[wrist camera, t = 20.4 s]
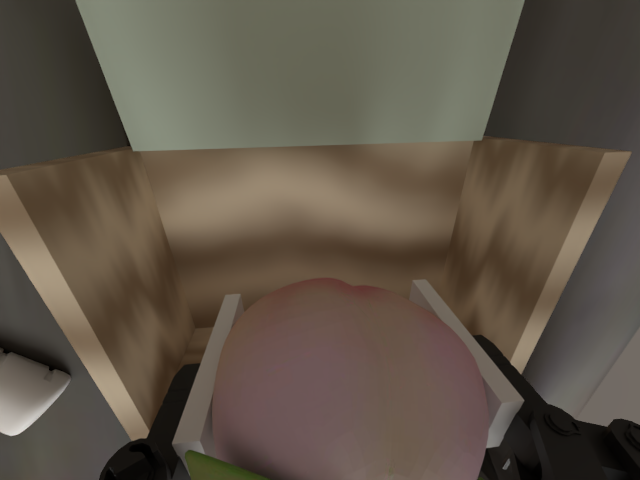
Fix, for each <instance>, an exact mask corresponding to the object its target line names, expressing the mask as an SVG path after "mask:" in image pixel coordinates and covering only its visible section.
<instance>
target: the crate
mask: <svg viewBox="0 0 640 480" xmlns="http://www.w3.org/2000/svg"><path fill="white" fill-rule="evenodd" d="M631 153H632V152H631V151H622V150H612V149H603V148H593V147H584V146H574V145H565V144H555V143H546V142H536V141H527V140H517V139H508V138H498V137H489V136H483V138H482V140H479V141H448V142H416V143H384V144H352V145H321V146H289V147H257V148H225V149H194V150H162V151H133V150H132V147H131V146H126V147H121V148H115V149H110V150H104V151H99V152H94V153H88V154H83V155H78V156H72V157H67V158H62V159H56V160H51V161H45V162H40V163H35V164H29V165H24V166H19V167H13V168H8V169H2V170H0V232H1V234H2V235H3V237H4V239H5V240H6V242H7V243H8V245H9V246H10V248H11V250H12V251H13V253H14V254H15V256H16V258H17V259H18V261H19V262H20V264H21V265H22V267H23V269H24V270H25V272H26V273H27V275H28V277H29V278H30V280H31V281H32V283H33V285H34V286H35V288H36V289H37V291H38V292H39V294H40V296H41V297H42V299H43V300H44V302H45V304H46V305H47V307H48V308H49V310H50V311H51V313H52V315H53V316H54V318H55V319H56V321H57V323H58V324H59V326H60V327H61V329H62V331H63V332H64V334H65V335H66V337H67V338H68V340H69V342H70V343H71V345H72V346H73V348H74V350H75V351H76V353H77V354H78V356H79V357H80V359H81V361H82V362H83V364H84V365H85V367H86V369H87V370H88V372H89V373H90V375H91V377H92V378H93V380H94V381H95V383H96V384H97V386H98V388H99V389H100V391H101V392H102V394H103V396H104V397H105V399H106V400H107V402H108V403H109V405H110V407H111V408H112V410H113V411H114V413H115V415H116V416H117V418H118V419H119V421H120V423H121V424H122V426H123V427H124V429H125V430H126V432H127V434H128V435H129V437H130V438H131V440H132V441H134V440H137V439H140V438H147V436H148V434H149V431H150V429H151V427H152V425H153V422H154V420H155V418H156V416H157V413H158V411H159V409H160V407H161V405H162V404H163V400H164V398H165V395H166V393H168V389H169V386H170V384H171V382H172V380H173V377H174V376H175V375H176V374H177V372H178V371H179V370H180V369H181V368H182V367H183V365H186V364H196V363H201V361H202V359H203V356H204V353H205V350H206V347H207V345H208V342H209V339H210V336H211V334H212V331H213V328H214V325H215V322H216V320H217V317H218V314H219V311H220V309H221V306H222V303H223V300H224V297H225V295H231V294H241V298H242V303H243V308H244V312H245V311H246V310H247V309H248V308H249V307H250V306H251V305H253V304H254V303H255V302H257V301H258V300H259V299H261V298H262V297H264V296H266V295H267V294H269V293H271V292H273V291H275V290H277V289H279V288H282V287H284V286H287V285H290V284H293V283H297V282H300V281H304V280H309V279H315V278H334V279H338V280H342V281H344V282H345V283H347V284H349V285H352V286H359V285H367V286H373V287H379V288H383V289H386V290H389V291H392V292H394V293H396V294H398V295H400V296H402V297H404V298H406V299H408V300H409V297H410V292H411V286H412V280H422V279H426V280H427V281H428V282H429V284H430V285H431V286H432V287H433V289H434V290H435V291H436V292H437V293H438V295H439V296H440V297H441V298H442V300H443V301H444V302H445V303H446V305H447V306H448V307H449V308H450V309H451V311H452V312H453V313H454V314H455V316H456V317H457V318H458V319H459V321H460V322H461V323H462V324H463V325H464V327H465V328H466V329H467V330H468V332H469V333H470V334H471V335H483V336H484V337H485V338H487V339H488V340H490V341H491V342H492V343H494V344H495V345H496V347H497V348H498V349H499V350H500V351H501V352H502V353H503V356H505V357H506V358H507V359H508V360H509V361H510V362H511V365H513V366H514V367H515V368H516V369H517V370H518V372H519V373H520V374H522V372H523V370H524V368H525V366H526V364H527V362H528V360H529V358H530V356H531V354H532V352H533V350H534V348H535V346H536V344H537V342H538V340H539V338H540V336H541V334H542V332H543V330H544V328H545V326H546V324H547V322H548V320H549V318H550V316H551V314H552V312H553V310H554V308H555V306H556V304H557V302H558V300H559V298H560V296H561V294H562V292H563V290H564V288H565V286H566V284H567V282H568V280H569V278H570V276H571V274H572V272H573V270H574V268H575V266H576V264H577V261H578V259H579V257H580V255H581V253H582V251H583V249H584V247H585V245H586V243H587V241H588V239H589V237H590V235H591V233H592V231H593V229H594V227H595V225H596V223H597V221H598V219H599V217H600V215H601V213H602V211H603V209H604V207H605V205H606V203H607V201H608V199H609V197H610V195H611V193H612V191H613V189H614V187H615V185H616V183H617V181H618V179H619V177H620V175H621V173H622V171H623V169H624V167H625V165H626V163H627V161H628V159H629V157H630V155H631Z"/></svg>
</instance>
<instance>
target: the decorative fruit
mask: <svg viewBox="0 0 640 480" xmlns="http://www.w3.org/2000/svg"><path fill="white" fill-rule="evenodd" d="M212 426H213V437H214V445H215V452H216V456H217V459H216V458H214V457H211V456H208V455H205V454H202V453H199V452H196V451H194V450H188V451H187V452H186V453H185V460H186V463H187V466H188V470H189V474H190V477H191V480H484V479H483V478H482V477H479V478H478V476H479V472H480V469H481V466H482V463H483V459H484V455H485V450H486V446H487V441H488V433H489V411H488V404H487V398H486V393H485V389H484V385H483V381H482V377H481V373H480V370H479V368H478V366H477V363H476V361H475V358H474V357H473V355H472V353H471V352H470V350H469V349H468V347H467V346H466V344H465V343H464V342H463V341H462V339H461V338H460V337H459V336H458V335H457V334H456V333H455V332H454V331H453V330H452V329H451V328H450V327H449V326H448V325H447V324H445V323H444V322H443V321H442V320H440V319H439V318H438V317H436V316H435V315H434V314H432V313H431V312H429V311H428V310H426V309H424V308H422V307H421V306H419V305H417V304H415V303H413V302H412V301H410V300H408V299H406V298H404V297H402V296H400V295H398V294H396V293H394V292H392V291H389V290H386V289H383V288H379V287H373V286H367V285H359V286H352V285H349V284H347V283H345V282H344V281H342V280H338V279H334V278H315V279H309V280H304V281H300V282H297V283H293V284H290V285H287V286H284V287H282V288H279V289H277V290H275V291H273V292H271V293H269V294H267V295H266V296H264V297H262V298H261V299H259V300H258V301H257V302H255V303H254V304H253V305H251V306H250V307H249V308H248V309H247V310H246V311H245V312H244V313H243V314H242V315H241V317H240V318H239V319H238V320H237V321H236V323H235V324H234V326H233V327H232V329H231V330H230V332H229V334H228V336H227V338H226V340H225V343H224V345H223V348H222V350H221V355H220V359H219V363H218V368H217V372H216V378H215V384H214V392H213V403H212Z"/></svg>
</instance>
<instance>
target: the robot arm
mask: <svg viewBox="0 0 640 480" xmlns="http://www.w3.org/2000/svg"><path fill="white" fill-rule="evenodd" d="M409 300H410V301H412V302H413V303H415V304H417V305H419V306H421V307H422V308H424V309H426V310H428V311H429V312H431V313H432V314H434V315H435V316H436V317H438V318H439V319H440V320H442V321H443V322H444V323H445V324H447V325H448V326H449V327H450V328H451V329H452V330H453V331H454V332H455V333H456V334H457V335H458V336H459V337H460V338H461V339H462V341H463V342H464V343H465V344H466V346H467V347H468V349H469V350H470V352H471V353H472V355H473V357H474V358H475V361H476V363H477V366H478V368H479V370H480V373H481V377H482V381H483V385H484V389H485V393H486V398H487V404H488V411H489V433H488V441H487V446H486V450H485V455H484V459H483V463H482V466H481V469H480V472H479V476H478V478H479V477H482V478H483V479H484V480H640V425H638V424H636V423H634V422H632V421H628V420H624V419H614V420H613V421H612V422H611V423H610V425H609V426H608V427H605V426H601V425H596V424H591V423H586V422H582V421H578V420H575V419H574V418H573V417H572V416H571V415H569V414H568V413H566V412H565V411H563V410H562V409H560V408H558V407H555V406H553V405H549V404H547V403H546V402H545V401H544V400H543V399H542V398H541V396H540V395H539V394H538V393H537V392H536V391H535V390H534V389H533V387H532V386H531V385H530V384H529V383H528V382H527V381H526V379H525V378H524V377H523V376H522V375H521V374H520V373H519V372H518V370H517V369H516V368H515V367H514V366H513V365H511V362H510V361H509V360H508V359H507V358H506V357H505V356H503V353H502V352H501V351H500V350H499V349H498V348H497V347H496V345H495V344H494V343H492V342H491V341H490V340H488V339H487V338H485V337H484V336H483V335H471V334H470V333H469V332H468V330H467V329H466V328H465V327H464V325H463V324H462V323H461V322H460V321H459V319H458V318H457V317H456V316H455V314H454V313H453V312H452V311H451V309H450V308H449V307H448V306H447V305H446V303H445V302H444V301H443V300H442V298H441V297H440V296H439V295H438V293H437V292H436V291H435V290H434V289H433V287H432V286H431V285H430V284H429V282H428V281H427V280H426V279H422V280H412V286H411V292H410V297H409ZM243 313H244V308H243V303H242V298H241V294H231V295H225V297H224V300H223V303H222V306H221V309H220V311H219V314H218V317H217V320H216V322H215V325H214V328H213V331H212V334H211V336H210V339H209V342H208V345H207V347H206V350H205V353H204V356H203V359H202V361H201V363H196V364H186V365H183V367H182V368H181V369H180V370H179V371H178V372H177V374H176V375H175V376H174V377H173V380H172V382H171V384H170V386H169V389H168V393H166V395H165V398H164V400H163V404H162V405H161V407H160V409H159V411H158V413H157V416H156V418H155V420H154V422H153V425H152V427H151V429H150V431H149V434H148V436H147V438H140V439H137V440H134V441H132V442H129V443H128V444H126V445H125V446H123V447H122V448H120V449H119V450H118V451H117V452H116V453H115V454H114V455H113V456H112V457H111V458H110V459H109V461H108V462H107V464H106V465H105V467H104V469H103V470H102V472H101V475H100V478H99V480H191V477H190V474H189V470H188V466H187V463H186V460H185V453H186V452H187V451H188V450H194V451H196V452H199V453H202V454H205V455H208V456H211V457H214V458H216V459H217V456H216V452H215V445H214V437H213V426H212V403H213V392H214V384H215V378H216V372H217V368H218V363H219V359H220V355H221V350H222V348H223V345H224V343H225V340H226V338H227V336H228V334H229V332H230V330H231V329H232V327H233V326H234V324H235V323H236V321H237V320H238V319H239V318H240V317H241V315H242V314H243Z"/></svg>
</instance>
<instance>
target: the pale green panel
mask: <svg viewBox="0 0 640 480" xmlns="http://www.w3.org/2000/svg"><path fill="white" fill-rule="evenodd" d="M524 1H525V0H76V3H77V6H78V8H79V11H80V14H81V16H82V19H83V21H84V24H85V27H86V29H87V32H88V34H89V37H90V40H91V42H92V45H93V48H94V50H95V53H96V55H97V58H98V61H99V63H100V66H101V69H102V71H103V74H104V76H105V79H106V82H107V84H108V87H109V89H110V92H111V95H112V97H113V100H114V103H115V105H116V108H117V110H118V113H119V116H120V118H121V121H122V123H123V126H124V129H125V131H126V134H127V137H128V139H129V142H130V144H131V147H132V150H133V151H162V150H194V149H225V148H257V147H289V146H321V145H352V144H384V143H416V142H448V141H479V140H482V138H483V135H484V132H485V129H486V125H487V122H488V119H489V116H490V112H491V109H492V106H493V102H494V99H495V96H496V93H497V89H498V86H499V83H500V80H501V76H502V73H503V70H504V67H505V63H506V60H507V57H508V54H509V50H510V47H511V44H512V40H513V37H514V34H515V31H516V27H517V24H518V21H519V18H520V14H521V11H522V8H523V5H524Z"/></svg>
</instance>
